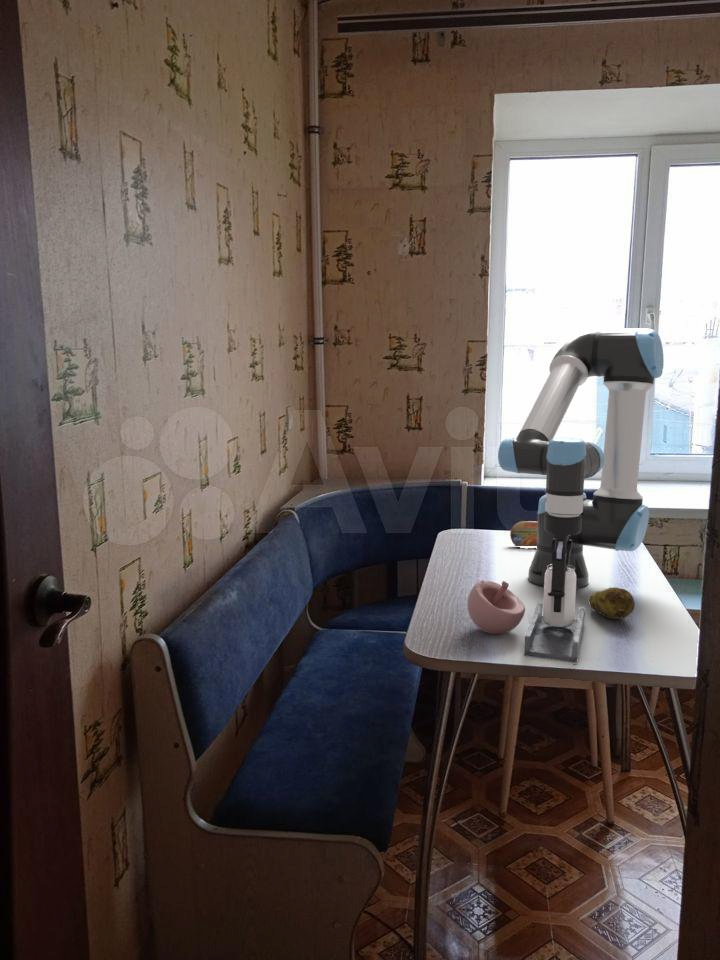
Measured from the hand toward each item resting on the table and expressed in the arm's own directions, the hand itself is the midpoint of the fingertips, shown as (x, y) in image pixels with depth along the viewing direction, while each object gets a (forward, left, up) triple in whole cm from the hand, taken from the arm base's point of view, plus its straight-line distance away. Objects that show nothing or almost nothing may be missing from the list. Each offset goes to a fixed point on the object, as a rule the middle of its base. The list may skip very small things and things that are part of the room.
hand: (558, 620), depth 162 cm
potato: (-13, +10, -3) cm, 17 cm away
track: (+4, 0, -3) cm, 5 cm away
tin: (-72, -14, -3) cm, 73 cm away
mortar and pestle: (+4, -13, -3) cm, 14 cm away
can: (0, 0, -1) cm, 1 cm away
